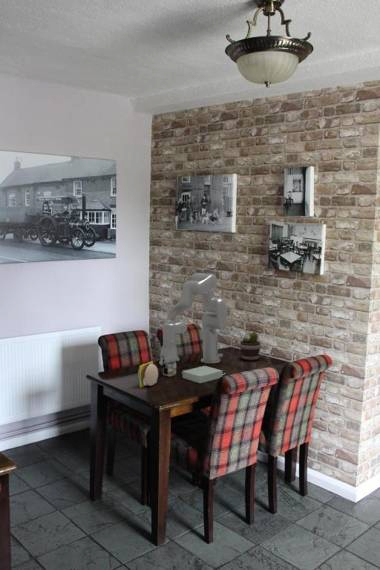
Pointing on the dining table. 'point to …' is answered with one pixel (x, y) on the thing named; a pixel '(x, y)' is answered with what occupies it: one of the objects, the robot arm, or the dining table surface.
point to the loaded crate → (171, 369)
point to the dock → (202, 374)
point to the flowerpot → (250, 347)
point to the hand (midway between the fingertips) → (169, 372)
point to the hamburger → (147, 374)
